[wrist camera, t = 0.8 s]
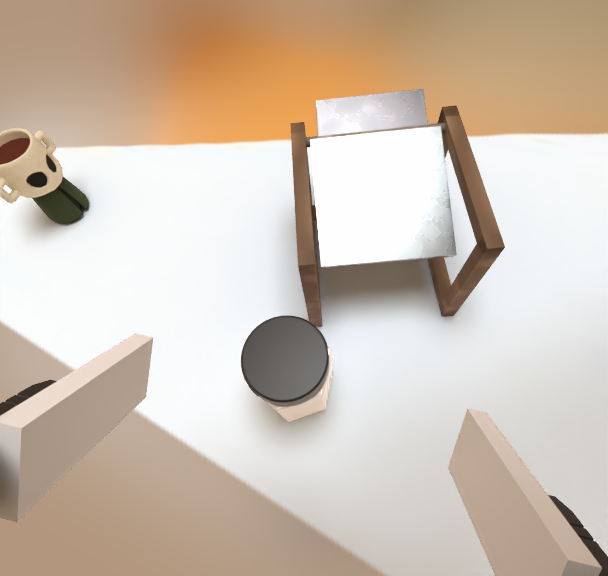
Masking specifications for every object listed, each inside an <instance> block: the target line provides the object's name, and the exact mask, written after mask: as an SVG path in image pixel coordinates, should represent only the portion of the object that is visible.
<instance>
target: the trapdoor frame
mask: <svg viewBox="0 0 608 576" xmlns="http://www.w3.org/2000/svg"><path fill="white" fill-rule="evenodd" d="M435 126H441V132H442V140H443V149H444V157H446V154H447V151H448V150H449V153H450V157H451V160H452V163H453V166H454V170H455V173H456V176H457V179H458V183H459V186H460V189H461V193H462V196H463V199H464V202H465V206H466V209H467V212H468V215H469V219H470V222H471V225H472V229H473V232H474V235H475V238H476V242H477V244H476V246H475V248H474V249H473V251H472V253H471V254H470V256H469V258H468V259H467V261H466V262H465V264H464V266H463V267H462V269H461V271H460V272H459V274H458V276H457V277H456V279H455V280H454V282H453V284H452V285H451V284H450V280H449V276H448V272H447V268H446V264H445V260H444V257H442V258H430V259H429V264H430V268H431V272H432V277H433V281H434V285H435V289H436V294H437V298H438V302H439V307H440V311H441V315H442V316H453V315H455V313H456V312H457V311H458V309H459V308H460V307H461V305H462V304H463V303H464V301H465V300H466V299H467V297H468V296H469V295H470V293H471V292H472V291H473V289H474V288H475V287H476V285H477V284H478V283H479V281H480V280H481V279H482V277H483V276H484V275H485V273H486V272H487V271H488V269H489V268H490V267H491V265H492V264H493V263H494V261H495V260H496V258H497V257H498V256H499V254H500V253H501V252H502V250H503V249H504V248H505V246H504V243H503V240H502V237H501V234H500V231H499V228H498V225H497V223H496V220H495V217H494V214H493V211H492V208H491V205H490V202H489V199H488V196H487V193H486V190H485V188H484V185H483V182H482V179H481V176H480V173H479V170H478V167H477V164H476V161H475V158H474V155H473V152H472V150H471V147H470V144H469V141H468V138H467V135H466V132H465V129H464V126H463V123H462V120H461V117H460V115H459V112H458V109H457V106H448V107H442V110H441V113H440V117H439V121H438V123H437V124H429V125H419V126H409V127H400V128H390V129H381V130H372V131H362V132H353V133H344V134H334V135H325V136H315V137H306V136H305V126H304V122H301V123H292V124H291V140H292V159H293V177H294V196H295V214H296V233H297V252H298V267H299V272H300V277H301V282H302V287H303V292H304V297H305V302H306V307H307V312H308V317H309V322H310V323H312V324H313V325H314V326H315V327H316V326H322V317H321V304H320V291H319V279H318V266H317V254H316V241H315V229H314V220H317V214H316V205H312V195H311V185H310V175H309V166H308V156H307V147H311V143H310V140H312V139H322V138H331V137H341V136H350V135H359V134H369V133H378V132H388V131H397V130H407V129H416V128H425V127H435Z"/></svg>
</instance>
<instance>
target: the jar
mask: <svg viewBox="0 0 608 576" xmlns="http://www.w3.org/2000/svg"><path fill="white" fill-rule="evenodd" d="M241 368H242V372H243V375H244V380H245V381H246V382H247V384H248V386H249V387H250V388H251V390H252V391H253V392H254V393H255V394H256V395H257V396H258V397H259V396H260V397H261V398H262V399H263V400H265V401H266V402H267V403H268V404H269V405H270V406H271V407H272V408H274V409H275V410H276V411H277V412H278V413H279V414H280V415H281V416H282V417H283V418H284V419H285V420H286V421H288V422H291V421H294V420H296V419H299V418H302V417H305V416H308V415H311V414H314V413H317V412H320V411H323V410H325V409H326V406H327V401H328V396H329V391H330V385H331V380H332V375H333V363H332V350H331V348H330V347H328V346H327V343H326V341H325V338H324V337H323V335H322V333H321V332H320V331H319V330H318V329H317V328H316V327H315V326H314V325H313V324H312V323H310V322H309V321H307V320H305V319H302V318H299V317H295V316H278V317H274V318H271V319H269V320H266V321H265V322H263V323H261V324H260V325H259V326H257V327H256V328H255V329H254V330H253V331H252V332H251V334H250V335H249V336H248V338H247V340H246V342H245V344H244V347H243V350H242V355H241Z"/></svg>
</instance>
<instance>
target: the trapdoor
mask: <svg viewBox="0 0 608 576" xmlns="http://www.w3.org/2000/svg"><path fill="white" fill-rule="evenodd" d="M316 115H317V134H318V136H325V135H334V134H344V133H353V132H362V131H372V130H381V129H390V128H400V127H409V126H419V125H428V121H427V113H426V105H425V97H424V89H417V90H408V91H400V92H390V93H382V94H373V95H363V96H354V97H345V98H336V99H327V100H319V101H316ZM310 143H311V155H312V167H313V178H314V190H315V202H316V214H317V225H318V237H319V249H320V261H321V268H328V267H339V266H351V265H362V264H374V263H385V262H396V261H408V260H419V259H430V258H442V257H453V256H455V255H456V247H455V239H454V231H453V223H452V214H451V206H450V198H449V190H448V181H447V173H446V165H445V157H444V149H443V140H442V132H441V126H435V127H425V128H416V129H407V130H397V131H388V132H378V133H369V134H359V135H350V136H341V137H331V138H322V139H312V140H310Z"/></svg>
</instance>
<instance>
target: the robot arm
mask: <svg viewBox="0 0 608 576" xmlns="http://www.w3.org/2000/svg"><path fill="white" fill-rule="evenodd" d="M152 343H153V337H148V336H144V335H139V334H134V335H132V336H131V337H129V338H127V339H126V340H124V341H122V342H121V343H119V344H118V345H116V346H114V347H113V348H111V349H109V350H108V351H106V352H104V353H103V354H101V355H99V356H98V357H96V358H94V359H93V360H91V361H90V362H88V363H86V364H85V365H83V366H81V367H80V368H78V369H76V370H75V371H73V372H72V373H70V374H68V375H67V376H65V377H63V378H62V379H60V380H58V381H53V380H48V381H45V382H41V383H38V384H35V385H32V386H30V387H28V388H27V389H25V390H23V391H21V392H20V393H18V395H14V396H13V397H11V398H9V399H7V400H6V402H2V403H1V404H0V518H2V519H6V520H11V521H14V522H18V521H19V520H20V519H21V518H22V517H23V516H24V515H25V514H26V513H27V512H28V511H29V510H31V509H32V508H33V507H34V506H35V505H36V504H37V503H38V502H39V501H40V500H41V499H42V498H43V497H44V496H45V495H46V494H47V493H48V492H49V491H50V490H51V489H52V488H53V487H54V486H55V485H56V484H57V483H58V482H59V481H60V480H61V479H62V478H63V477H64V476H65V475H66V474H67V473H68V472H69V471H70V470H72V468H73V467H74V466H76V465H77V464H78V463H79V462H80V461H81V460H82V459H83V458H84V457H85V456H86V455H87V454H88V453H89V452H90V451H91V450H92V449H93V448H94V447H95V446H96V445H97V444H98V443H99V442H100V441H101V440H102V439H103V438H104V437H105V436H106V435H107V434H108V433H110V431H112V430H113V429H114V428H115V427H116V426H117V425H118V424H119V423H120V422H121V421H122V420H123V419H124V418H125V417H126V416H127V415H128V414H129V413H130V412H131V411H132V410H133V409H134V408H135V407H136V406H137V405H138V404H139V403H140V402H141V401H142V400H143V399H144V398H145V397H146V392H147V384H148V376H149V367H150V359H151V351H152ZM448 468H449V470H450V473H451V475H452V477H453V480H454V482H455V484H456V486H457V489H458V491H459V493H460V496H461V498H462V500H463V502H464V505H465V507H466V509H467V512H468V514H469V516H470V518H471V521H472V523H473V525H474V528H475V530H476V532H477V534H478V537H479V539H480V541H481V544H482V546H483V548H484V550H485V553H486V555H487V557H488V560H489V562H490V564H491V566H492V569H493V571H494V573H495V576H608V557H607V555H606V554H605V553H604V552H603V550H602V549H601V548H600V546H599V545H598V544H597V543H596V542H595V541H593V538H592V536H591V535H590V534H589V532H588V531H587V530H586V529H584V528H583V525H582V524H581V522H580V521H579V520H578V518H577V517H576V516H575V515H574V513H573V512H572V511H571V510H570V509H569V508H568V507H566V506H565V505H564V504H563V503H562V502H561V501H559V500H558V499H557V498H556V497H554V496H550V495H547V493H546V492H545V491H544V489H543V488H542V487H541V485H540V484H539V483H538V481H537V480H536V479H535V477H534V476H533V475H532V473H531V472H530V471H529V469H528V468H527V467H526V465H525V464H524V463H523V461H522V460H521V459H520V457H519V456H518V455H517V453H516V452H515V450H514V449H513V448H512V446H511V445H510V444H509V442H508V441H507V440H506V438H505V437H504V436H503V434H502V433H501V432H500V430H499V429H498V428H497V426H496V425H495V424H494V422H493V421H492V420H491V418H490V417H489V416H488V414H487V413H483V412H479V411H475V410H470V409H467V412H466V415H465V418H464V421H463V425H462V428H461V431H460V434H459V437H458V440H457V443H456V446H455V449H454V452H453V455H452V458H451V461H450V464H449V467H448Z"/></svg>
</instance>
